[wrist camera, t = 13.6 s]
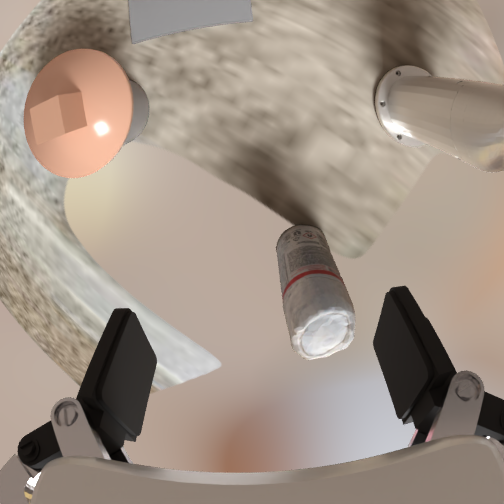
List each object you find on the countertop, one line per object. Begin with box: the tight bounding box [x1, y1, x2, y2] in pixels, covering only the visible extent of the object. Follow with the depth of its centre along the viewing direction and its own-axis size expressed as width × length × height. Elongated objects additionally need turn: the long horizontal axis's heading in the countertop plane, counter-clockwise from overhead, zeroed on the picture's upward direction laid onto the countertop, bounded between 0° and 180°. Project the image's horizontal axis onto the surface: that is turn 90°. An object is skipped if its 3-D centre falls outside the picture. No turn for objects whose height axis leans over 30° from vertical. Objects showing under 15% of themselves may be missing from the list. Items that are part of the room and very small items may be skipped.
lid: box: [24, 49, 134, 178], centre depth 22 cm, size 15×15×6 cm
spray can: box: [276, 225, 356, 360], centre depth 37 cm, size 8×8×20 cm
